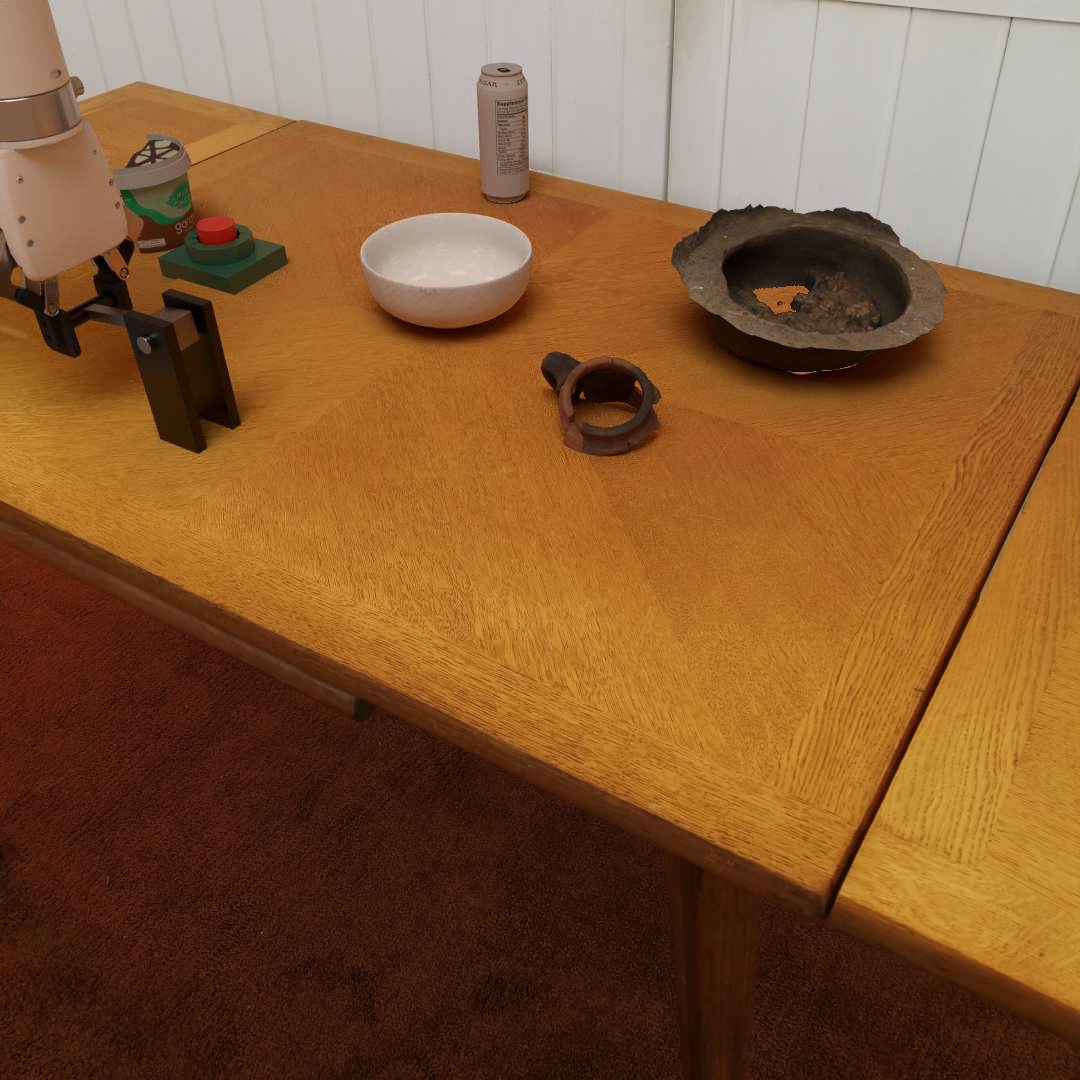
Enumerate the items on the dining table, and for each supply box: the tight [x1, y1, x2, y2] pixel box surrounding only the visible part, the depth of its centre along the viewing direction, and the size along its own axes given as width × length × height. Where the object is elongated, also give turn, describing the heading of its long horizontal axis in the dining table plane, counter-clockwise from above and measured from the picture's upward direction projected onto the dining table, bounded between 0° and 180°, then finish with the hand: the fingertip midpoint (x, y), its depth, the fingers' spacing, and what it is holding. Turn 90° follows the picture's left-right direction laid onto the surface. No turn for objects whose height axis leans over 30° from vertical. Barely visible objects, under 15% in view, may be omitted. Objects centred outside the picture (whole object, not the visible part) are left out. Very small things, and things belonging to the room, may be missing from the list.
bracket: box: [122, 288, 242, 455], centre depth 80 cm, size 11×8×13 cm
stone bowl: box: [670, 203, 949, 372], centre depth 95 cm, size 25×25×9 cm
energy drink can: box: [476, 62, 530, 204], centre depth 121 cm, size 6×6×15 cm
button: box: [196, 215, 238, 245], centre depth 107 cm, size 4×4×2 cm
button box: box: [157, 222, 289, 296], centre depth 109 cm, size 10×9×4 cm
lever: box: [66, 291, 200, 351], centre depth 79 cm, size 12×5×2 cm, turn 60°
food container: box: [112, 132, 197, 255], centre depth 114 cm, size 12×6×10 cm, turn 179°
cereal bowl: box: [359, 212, 533, 330], centre depth 100 cm, size 17×17×7 cm
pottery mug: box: [540, 351, 663, 457], centre depth 84 cm, size 12×10×8 cm
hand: (93, 335), depth 83 cm, fingers closed on lever, 5 cm apart
